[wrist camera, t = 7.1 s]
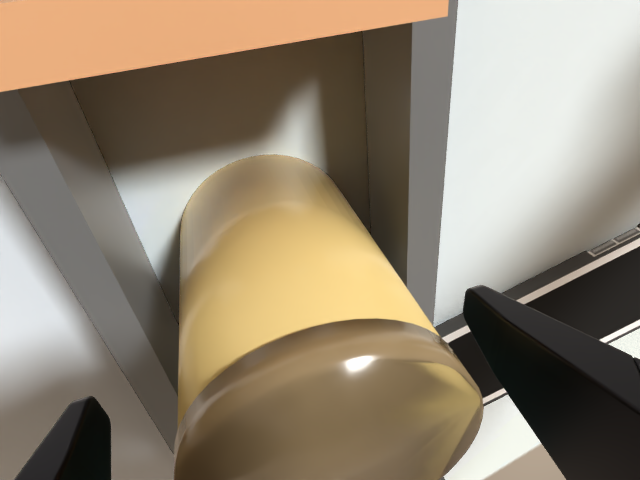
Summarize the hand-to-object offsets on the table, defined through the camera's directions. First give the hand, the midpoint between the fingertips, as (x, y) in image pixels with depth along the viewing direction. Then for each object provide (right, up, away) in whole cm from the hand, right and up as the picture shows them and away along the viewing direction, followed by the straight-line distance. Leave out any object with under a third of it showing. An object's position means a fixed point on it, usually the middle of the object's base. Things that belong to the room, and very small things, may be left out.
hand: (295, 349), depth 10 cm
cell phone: (+12, -1, +12) cm, 17 cm away
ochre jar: (-1, +3, +4) cm, 5 cm away
